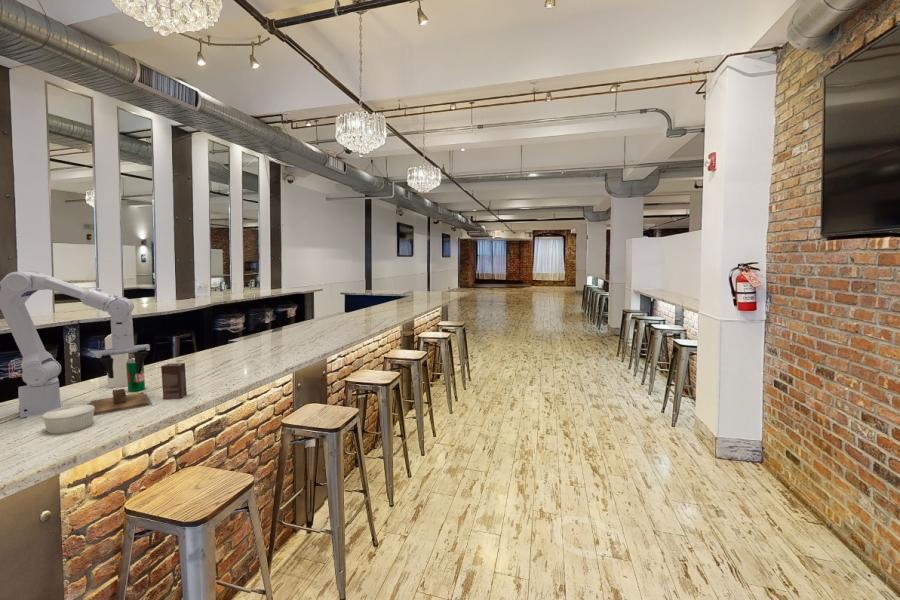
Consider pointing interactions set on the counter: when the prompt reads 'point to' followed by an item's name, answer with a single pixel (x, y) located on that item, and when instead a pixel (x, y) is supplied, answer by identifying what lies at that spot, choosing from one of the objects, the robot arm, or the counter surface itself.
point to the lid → (119, 402)
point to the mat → (129, 408)
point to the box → (173, 381)
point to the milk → (117, 366)
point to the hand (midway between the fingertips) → (125, 375)
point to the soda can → (134, 376)
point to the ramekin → (69, 418)
